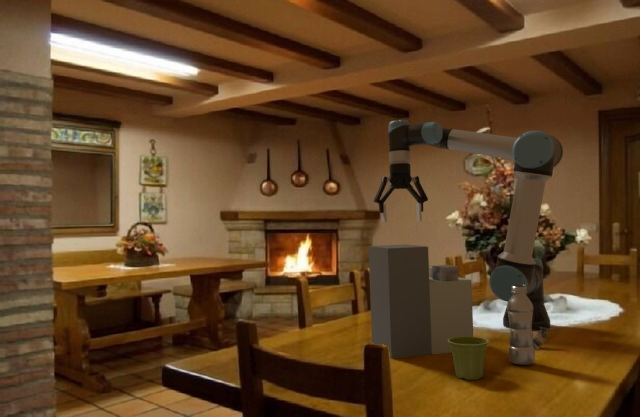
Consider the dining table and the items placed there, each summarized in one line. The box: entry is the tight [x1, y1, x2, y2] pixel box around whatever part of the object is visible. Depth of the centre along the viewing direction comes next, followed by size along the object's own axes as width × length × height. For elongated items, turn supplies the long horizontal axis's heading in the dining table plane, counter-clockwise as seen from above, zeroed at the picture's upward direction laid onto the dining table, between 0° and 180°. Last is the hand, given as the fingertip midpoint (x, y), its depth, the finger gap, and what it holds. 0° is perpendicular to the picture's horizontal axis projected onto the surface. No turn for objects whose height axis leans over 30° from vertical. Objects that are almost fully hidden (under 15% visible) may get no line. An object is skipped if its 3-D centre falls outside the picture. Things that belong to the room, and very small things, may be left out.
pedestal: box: [368, 244, 474, 359], centre depth 160 cm, size 16×25×30 cm, turn 104°
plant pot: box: [448, 336, 489, 381], centre depth 130 cm, size 9×9×9 cm
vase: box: [532, 327, 549, 351], centre depth 156 cm, size 5×5×6 cm
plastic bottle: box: [506, 285, 536, 366], centre depth 140 cm, size 6×7×20 cm
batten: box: [429, 264, 459, 282], centre depth 168 cm, size 28×5×4 cm, turn 14°
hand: (401, 221), depth 199 cm, fingers open, 13 cm apart
